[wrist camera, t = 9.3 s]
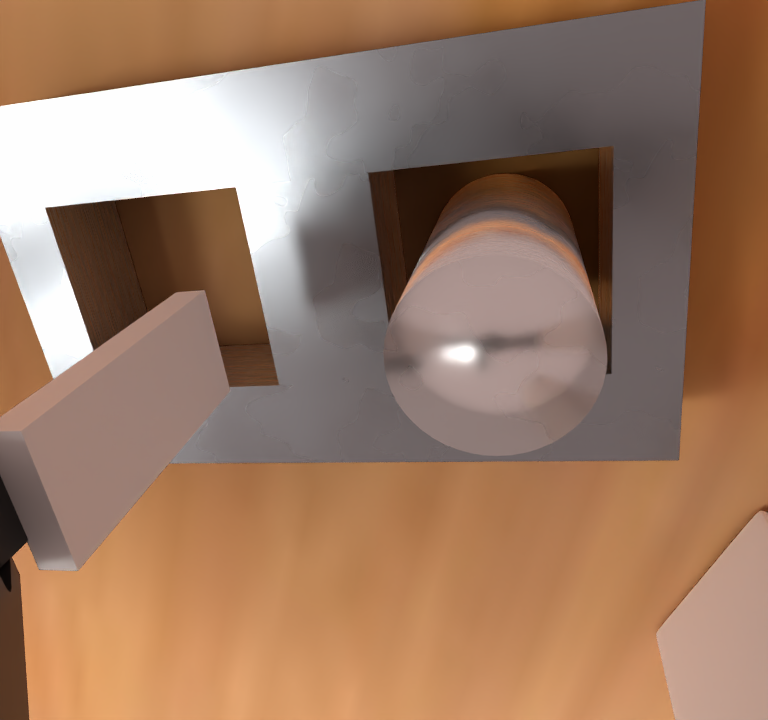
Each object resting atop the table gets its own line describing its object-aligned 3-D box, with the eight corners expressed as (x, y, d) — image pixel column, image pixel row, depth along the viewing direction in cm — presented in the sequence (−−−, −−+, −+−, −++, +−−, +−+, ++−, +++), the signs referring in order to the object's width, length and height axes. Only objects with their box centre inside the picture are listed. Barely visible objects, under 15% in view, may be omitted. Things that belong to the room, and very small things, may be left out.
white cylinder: (441, 311, 22) (396, 456, 14) (428, 180, 21) (370, 263, 13) (574, 304, 22) (606, 455, 14) (573, 166, 20) (608, 246, 12)
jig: (135, 415, 27) (84, 463, 24) (34, 104, 22) (-46, 113, 19) (657, 403, 22) (678, 460, 19) (673, 7, 18) (705, -1, 14)
